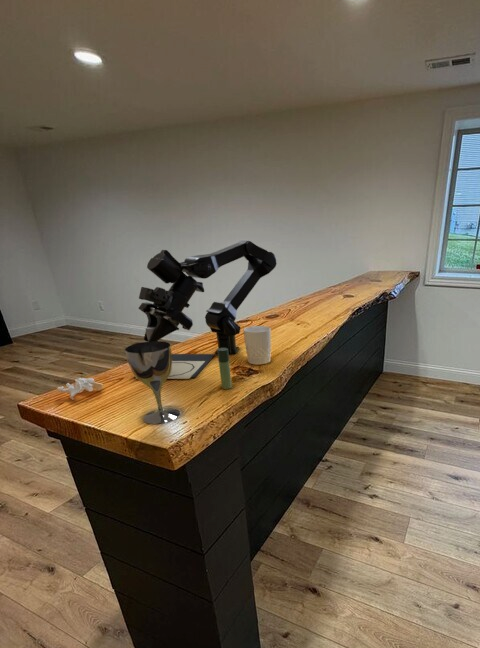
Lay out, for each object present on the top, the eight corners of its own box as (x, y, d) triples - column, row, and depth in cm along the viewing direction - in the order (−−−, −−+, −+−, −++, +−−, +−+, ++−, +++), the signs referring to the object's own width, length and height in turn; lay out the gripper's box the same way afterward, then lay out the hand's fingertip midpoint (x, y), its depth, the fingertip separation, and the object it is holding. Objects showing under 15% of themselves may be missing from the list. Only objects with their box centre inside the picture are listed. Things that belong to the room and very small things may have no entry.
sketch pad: (164, 354, 110) (164, 353, 110) (215, 355, 110) (214, 353, 110) (131, 379, 91) (131, 378, 91) (193, 379, 91) (193, 378, 91)
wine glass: (131, 420, 71) (114, 350, 65) (161, 404, 77) (148, 339, 72) (162, 428, 68) (148, 355, 62) (190, 410, 75) (179, 343, 69)
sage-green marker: (223, 385, 88) (218, 347, 84) (233, 385, 88) (229, 347, 84) (220, 389, 86) (215, 350, 82) (230, 389, 86) (226, 350, 82)
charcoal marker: (157, 361, 98) (150, 326, 94) (164, 362, 97) (157, 327, 93) (150, 364, 96) (143, 328, 92) (157, 365, 95) (150, 329, 91)
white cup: (267, 366, 101) (265, 333, 97) (241, 364, 102) (238, 331, 98) (275, 358, 108) (274, 326, 104) (252, 356, 110) (249, 325, 106)
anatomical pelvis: (87, 371, 86) (103, 373, 83) (92, 387, 87) (108, 390, 84) (51, 382, 79) (68, 385, 76) (57, 399, 80) (74, 402, 78)
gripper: (138, 272, 96) (105, 319, 92) (174, 277, 85) (138, 330, 81) (170, 298, 104) (141, 341, 101) (206, 305, 94) (175, 354, 90)
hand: (147, 341), depth 93 cm, fingers closed on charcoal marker, 2 cm apart
